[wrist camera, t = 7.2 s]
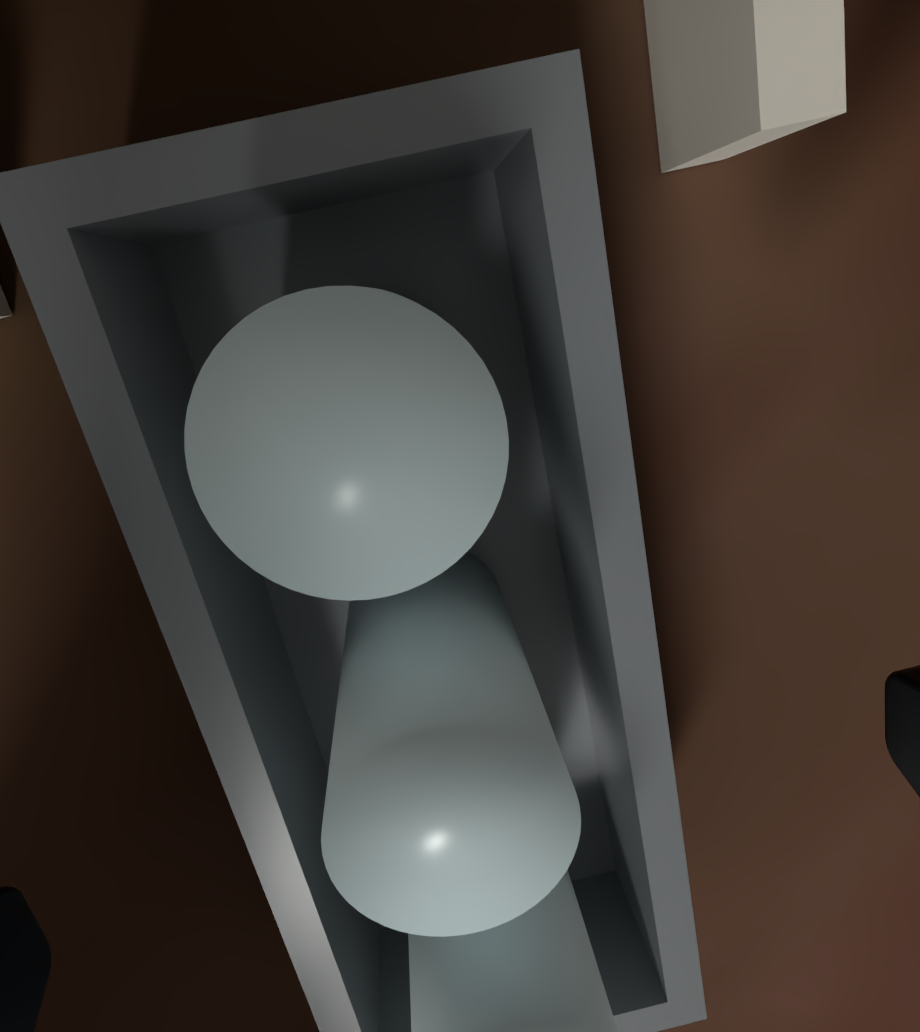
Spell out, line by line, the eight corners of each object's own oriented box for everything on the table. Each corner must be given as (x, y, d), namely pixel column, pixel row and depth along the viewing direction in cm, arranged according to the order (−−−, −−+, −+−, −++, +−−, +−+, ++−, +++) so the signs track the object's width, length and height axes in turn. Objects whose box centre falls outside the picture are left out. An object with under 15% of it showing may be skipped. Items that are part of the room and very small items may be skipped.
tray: (635, 855, 15) (781, 1189, 9) (358, 923, 15) (341, 1306, 9) (517, 126, 10) (665, -62, 5) (115, 213, 10) (-212, 122, 5)
